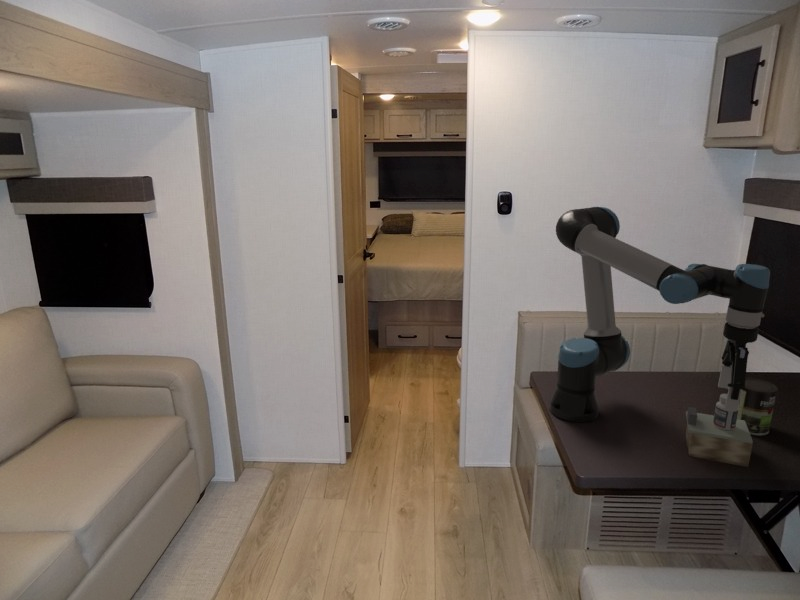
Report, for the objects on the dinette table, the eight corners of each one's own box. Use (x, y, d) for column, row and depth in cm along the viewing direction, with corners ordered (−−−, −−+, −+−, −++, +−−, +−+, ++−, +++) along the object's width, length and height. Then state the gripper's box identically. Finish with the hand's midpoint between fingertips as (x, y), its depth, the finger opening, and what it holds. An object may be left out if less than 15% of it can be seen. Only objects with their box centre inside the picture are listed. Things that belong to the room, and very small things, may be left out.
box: (688, 455, 144) (692, 433, 142) (685, 436, 154) (688, 415, 152) (748, 467, 139) (752, 443, 137) (740, 446, 149) (745, 424, 147)
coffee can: (777, 431, 156) (786, 388, 152) (754, 438, 152) (763, 394, 148) (743, 416, 165) (751, 374, 161) (721, 422, 161) (728, 380, 158)
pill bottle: (730, 422, 146) (736, 393, 143) (738, 431, 141) (743, 402, 138) (709, 420, 147) (714, 391, 144) (716, 429, 142) (721, 400, 139)
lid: (689, 432, 142) (691, 420, 141) (685, 413, 153) (687, 401, 152) (752, 443, 137) (754, 430, 136) (744, 423, 147) (746, 410, 146)
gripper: (769, 342, 123) (752, 422, 129) (750, 312, 145) (735, 381, 151) (733, 337, 126) (717, 416, 132) (719, 308, 148) (706, 377, 154)
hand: (727, 398), depth 142 cm, fingers open, 13 cm apart
